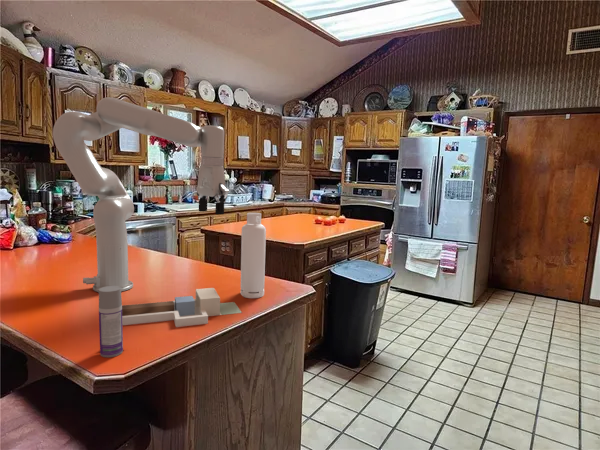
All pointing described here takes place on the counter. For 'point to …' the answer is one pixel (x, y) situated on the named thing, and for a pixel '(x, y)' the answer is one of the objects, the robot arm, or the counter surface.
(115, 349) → the container
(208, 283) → the counter surface
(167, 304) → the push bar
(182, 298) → the block
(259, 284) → the bottle
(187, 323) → the lane
